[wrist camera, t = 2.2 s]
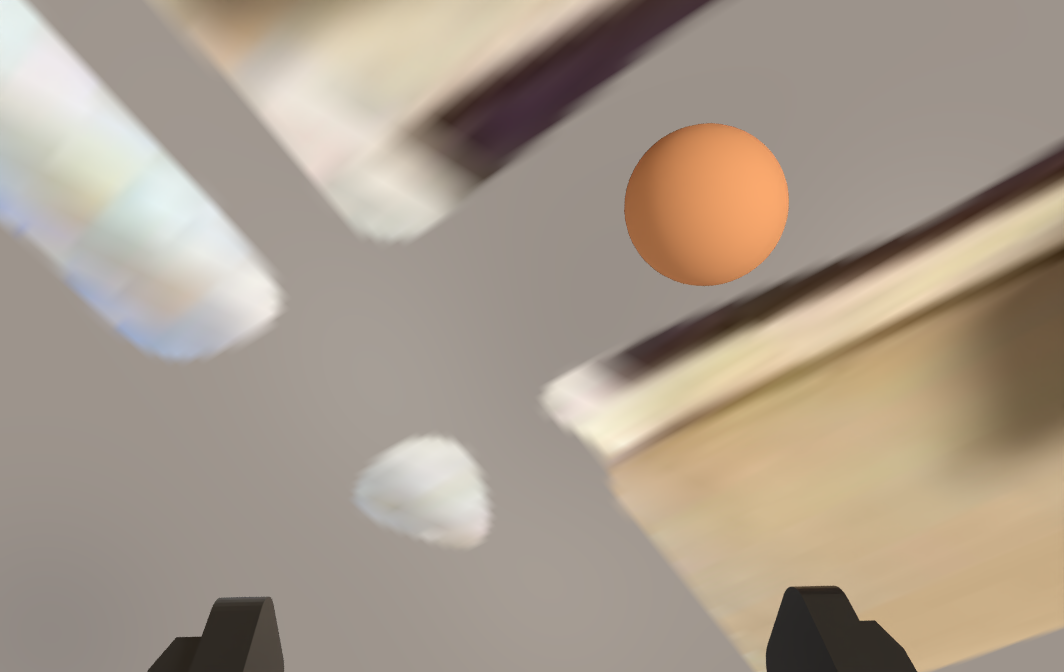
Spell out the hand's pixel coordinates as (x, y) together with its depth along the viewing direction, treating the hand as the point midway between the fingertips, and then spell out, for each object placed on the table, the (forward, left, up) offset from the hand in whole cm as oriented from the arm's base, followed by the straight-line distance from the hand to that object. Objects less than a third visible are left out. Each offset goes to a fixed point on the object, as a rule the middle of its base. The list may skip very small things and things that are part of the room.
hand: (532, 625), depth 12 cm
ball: (-7, +2, -18) cm, 20 cm away
